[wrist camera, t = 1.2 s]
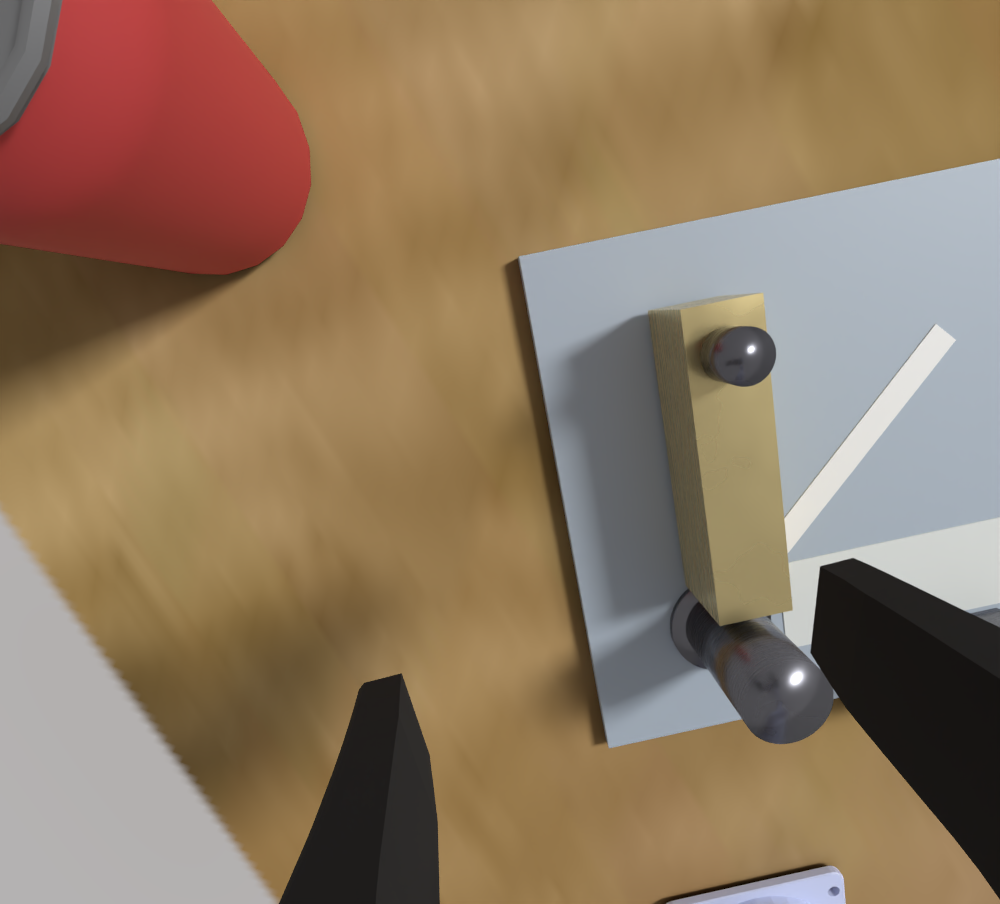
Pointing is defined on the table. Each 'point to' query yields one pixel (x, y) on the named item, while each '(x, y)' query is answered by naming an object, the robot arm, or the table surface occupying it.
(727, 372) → the swing bar
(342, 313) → the table surface
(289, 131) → the beer can
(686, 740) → the table surface
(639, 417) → the door panel
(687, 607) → the door knob
